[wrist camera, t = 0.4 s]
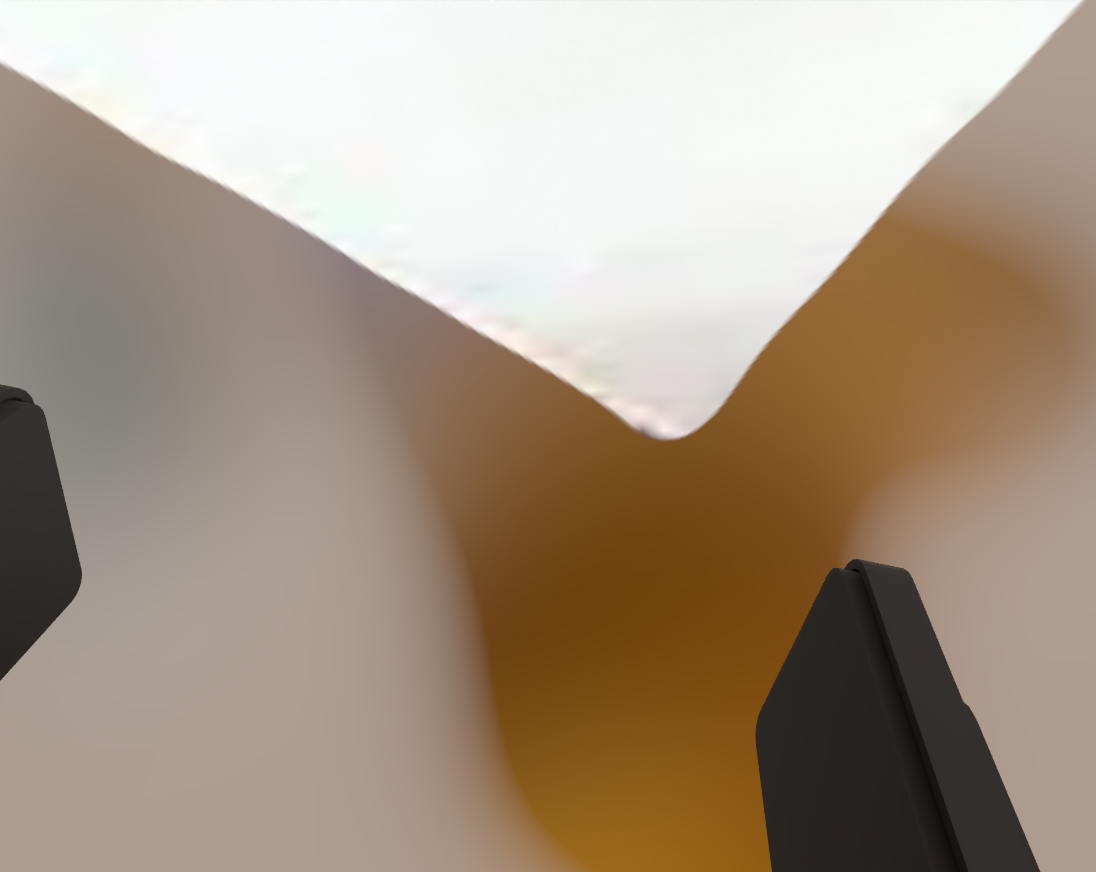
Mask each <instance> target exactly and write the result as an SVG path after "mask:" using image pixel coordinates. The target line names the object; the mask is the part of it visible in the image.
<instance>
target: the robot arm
mask: <svg viewBox="0 0 1096 872" xmlns="http://www.w3.org/2000/svg"><path fill="white" fill-rule="evenodd" d="M81 579H82V571H81V566H80V562H79V557H78V553H77V549H76V545H75V540H74V536H73V532H72V528H71V523H70V519H69V515H68V511H67V507H66V503H65V498H64V494H63V489H62V485H61V481H60V477H59V472H58V468H57V464H56V460H55V455H54V451H53V447H52V443H51V439H50V434H49V430H48V426H47V422H46V418H45V415H44V412H43V410H42V409H41V408H40V407H39V406H37V405H35V404H34V402H33V399H32V397H31V396H30V395H29V394H28V393H27V392H26V391H24V390H22V389H19V388H15V387H10V386H5V385H0V680H1V679H2V678H3V677H4V676H5V675H6V674H7V673H8V671H9V670H10V669H11V668H12V667H13V666H14V665H15V664H16V663H17V662H18V660H19V659H20V658H21V657H22V656H23V655H24V654H25V653H26V652H27V651H28V649H29V648H30V647H31V646H32V645H33V644H34V643H35V642H36V641H37V639H38V638H39V637H40V636H41V635H42V634H43V633H44V632H45V631H46V629H47V628H48V627H49V626H50V625H51V624H52V623H53V622H54V621H55V620H56V618H57V617H58V616H59V615H60V614H61V613H62V612H63V610H65V608H66V607H67V606H68V605H69V604H70V603H71V602H72V600H73V599H74V597H75V596H76V594H77V592H78V590H79V587H80V584H81ZM756 749H757V755H758V756H757V757H758V764H759V772H760V780H761V788H762V796H763V804H764V812H765V820H766V827H767V836H768V843H769V851H770V859H771V867H772V872H1040V870H1039V868H1038V865H1037V863H1036V860H1035V858H1034V856H1033V853H1032V851H1031V849H1030V846H1029V844H1028V841H1027V839H1026V837H1025V834H1024V832H1023V829H1022V827H1021V825H1020V822H1019V820H1018V817H1017V815H1016V813H1015V810H1014V808H1013V806H1012V803H1011V801H1010V798H1009V796H1008V794H1007V791H1006V789H1005V786H1004V784H1003V782H1002V779H1001V777H1000V774H999V772H998V770H997V768H996V765H995V763H994V760H993V758H992V755H991V753H990V751H989V748H988V746H987V744H986V741H985V739H984V736H983V734H982V732H981V729H980V727H979V724H978V722H977V720H976V718H975V716H974V715H973V713H972V711H971V710H970V708H969V706H967V705H966V704H965V703H964V702H963V700H962V698H961V695H960V693H959V690H958V688H957V686H956V683H955V681H954V678H953V676H952V674H951V671H950V668H949V666H948V664H947V661H946V659H945V656H944V654H943V651H942V649H941V647H940V644H939V642H938V639H937V637H936V634H935V632H934V630H933V627H932V625H931V623H930V620H929V617H928V615H927V613H926V610H925V608H924V605H923V603H922V600H921V598H920V596H919V593H918V591H917V589H916V586H915V583H914V581H913V579H912V577H911V575H910V574H909V572H908V571H906V570H905V569H903V568H898V567H894V566H889V565H884V564H879V563H874V562H869V561H864V560H859V559H855V560H852V561H850V562H849V563H848V564H847V566H846V567H845V569H840V568H833V569H832V570H831V571H830V572H829V574H828V575H827V577H826V579H825V581H824V583H823V585H822V587H821V589H820V591H819V593H818V595H817V597H816V600H815V601H814V603H813V606H812V607H811V610H810V611H809V614H808V616H807V618H806V620H805V622H804V624H803V626H802V628H801V630H800V632H799V634H798V636H797V638H796V640H795V642H794V644H793V646H792V648H791V650H790V652H789V654H788V656H787V658H786V660H785V662H784V664H783V666H782V668H781V670H780V672H779V674H778V676H777V678H776V680H775V683H774V684H773V686H772V688H771V690H770V692H769V695H768V697H767V699H766V701H765V703H764V705H763V707H762V709H761V711H760V713H759V716H758V720H757V726H756Z"/></svg>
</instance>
